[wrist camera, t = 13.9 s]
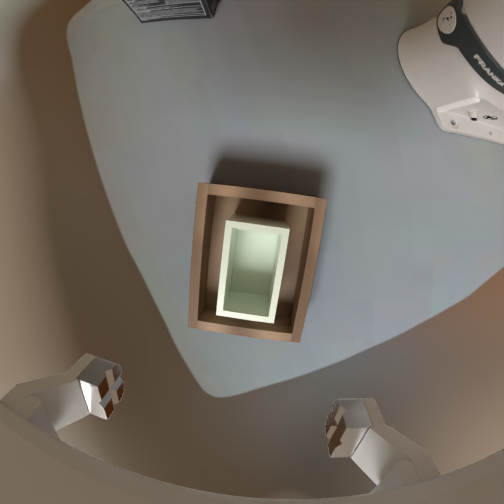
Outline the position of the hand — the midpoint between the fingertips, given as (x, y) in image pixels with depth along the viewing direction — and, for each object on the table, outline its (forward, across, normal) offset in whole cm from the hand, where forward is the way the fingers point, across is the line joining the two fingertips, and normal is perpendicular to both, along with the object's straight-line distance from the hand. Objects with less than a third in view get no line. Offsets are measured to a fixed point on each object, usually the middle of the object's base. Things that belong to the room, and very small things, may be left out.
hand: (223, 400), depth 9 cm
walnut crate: (+23, 0, 0) cm, 23 cm away
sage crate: (+22, 0, 0) cm, 22 cm away
